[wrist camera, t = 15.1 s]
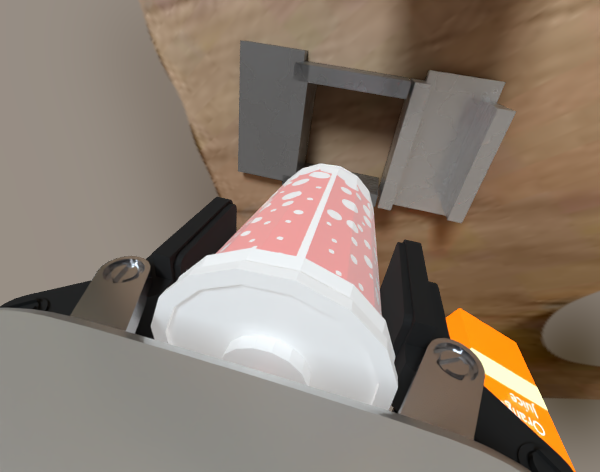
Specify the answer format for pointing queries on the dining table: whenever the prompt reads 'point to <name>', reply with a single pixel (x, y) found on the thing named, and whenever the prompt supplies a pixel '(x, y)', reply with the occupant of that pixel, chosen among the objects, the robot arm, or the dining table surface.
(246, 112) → the fixed leaf
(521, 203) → the dining table surface
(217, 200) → the robot arm
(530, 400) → the orange juice
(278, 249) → the beverage cup
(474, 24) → the dining table surface
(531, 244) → the dining table surface
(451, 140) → the gray u-channel trough
